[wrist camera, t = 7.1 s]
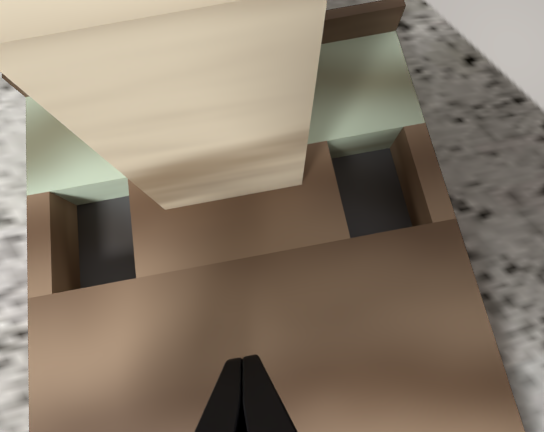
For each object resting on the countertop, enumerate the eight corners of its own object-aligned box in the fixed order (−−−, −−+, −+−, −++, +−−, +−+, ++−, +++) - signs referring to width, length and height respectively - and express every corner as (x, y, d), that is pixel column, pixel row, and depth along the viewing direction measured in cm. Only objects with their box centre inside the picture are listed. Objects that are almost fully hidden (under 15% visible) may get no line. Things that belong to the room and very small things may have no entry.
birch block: (301, 184, 16) (328, -15, 6) (165, 209, 16) (-28, 48, 6) (276, 67, 17) (266, -244, 8) (151, 89, 17) (-21, -195, 7)
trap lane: (519, 519, 15) (605, 595, 11) (74, 607, 14) (-4, 717, 10) (379, 57, 20) (402, -4, 16) (57, 115, 20) (2, 68, 16)
